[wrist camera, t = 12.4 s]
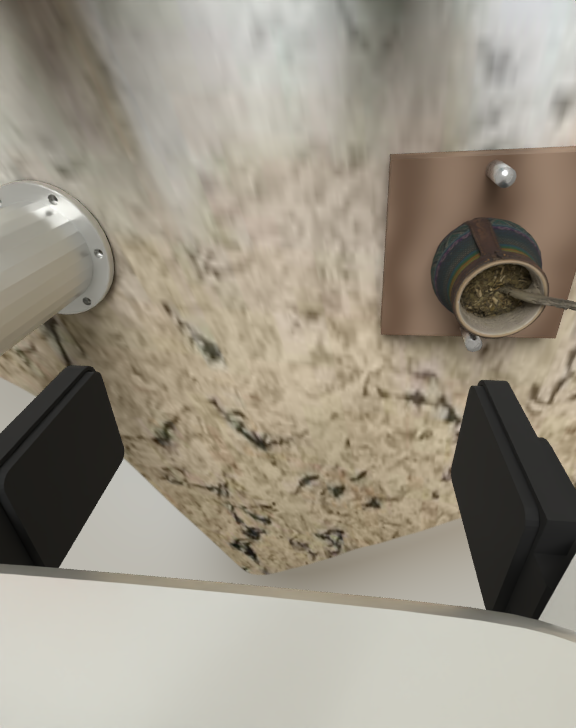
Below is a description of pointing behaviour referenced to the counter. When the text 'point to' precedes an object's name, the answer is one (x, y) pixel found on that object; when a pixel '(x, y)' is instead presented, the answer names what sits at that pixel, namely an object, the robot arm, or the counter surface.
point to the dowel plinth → (463, 203)
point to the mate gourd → (492, 278)
